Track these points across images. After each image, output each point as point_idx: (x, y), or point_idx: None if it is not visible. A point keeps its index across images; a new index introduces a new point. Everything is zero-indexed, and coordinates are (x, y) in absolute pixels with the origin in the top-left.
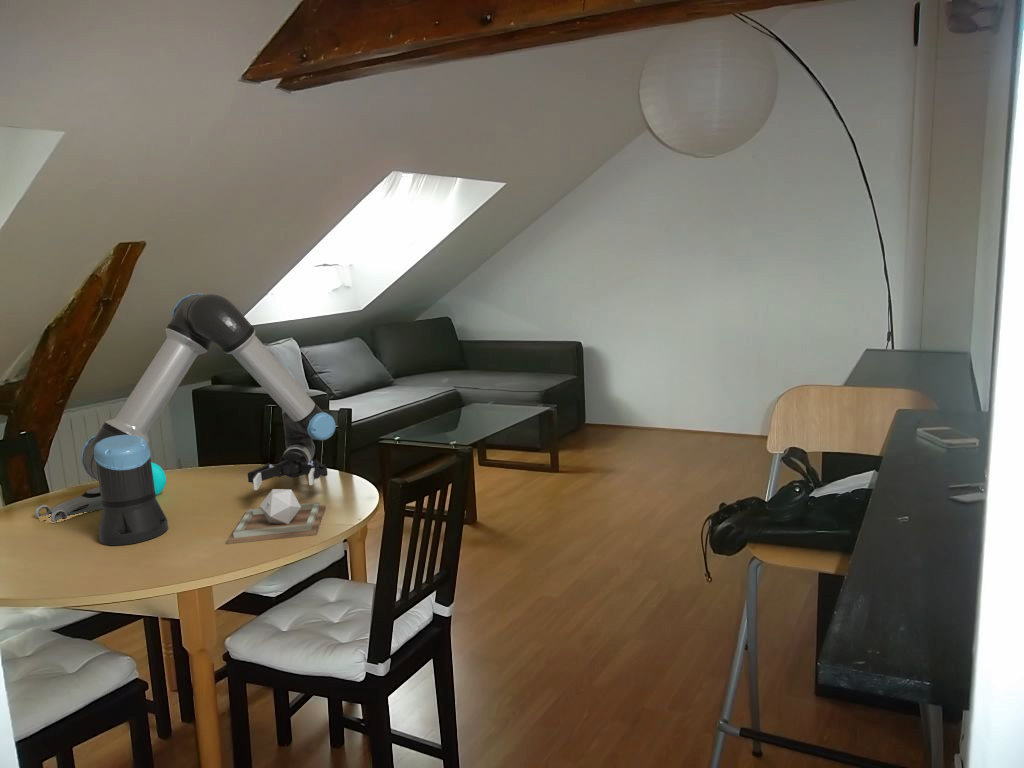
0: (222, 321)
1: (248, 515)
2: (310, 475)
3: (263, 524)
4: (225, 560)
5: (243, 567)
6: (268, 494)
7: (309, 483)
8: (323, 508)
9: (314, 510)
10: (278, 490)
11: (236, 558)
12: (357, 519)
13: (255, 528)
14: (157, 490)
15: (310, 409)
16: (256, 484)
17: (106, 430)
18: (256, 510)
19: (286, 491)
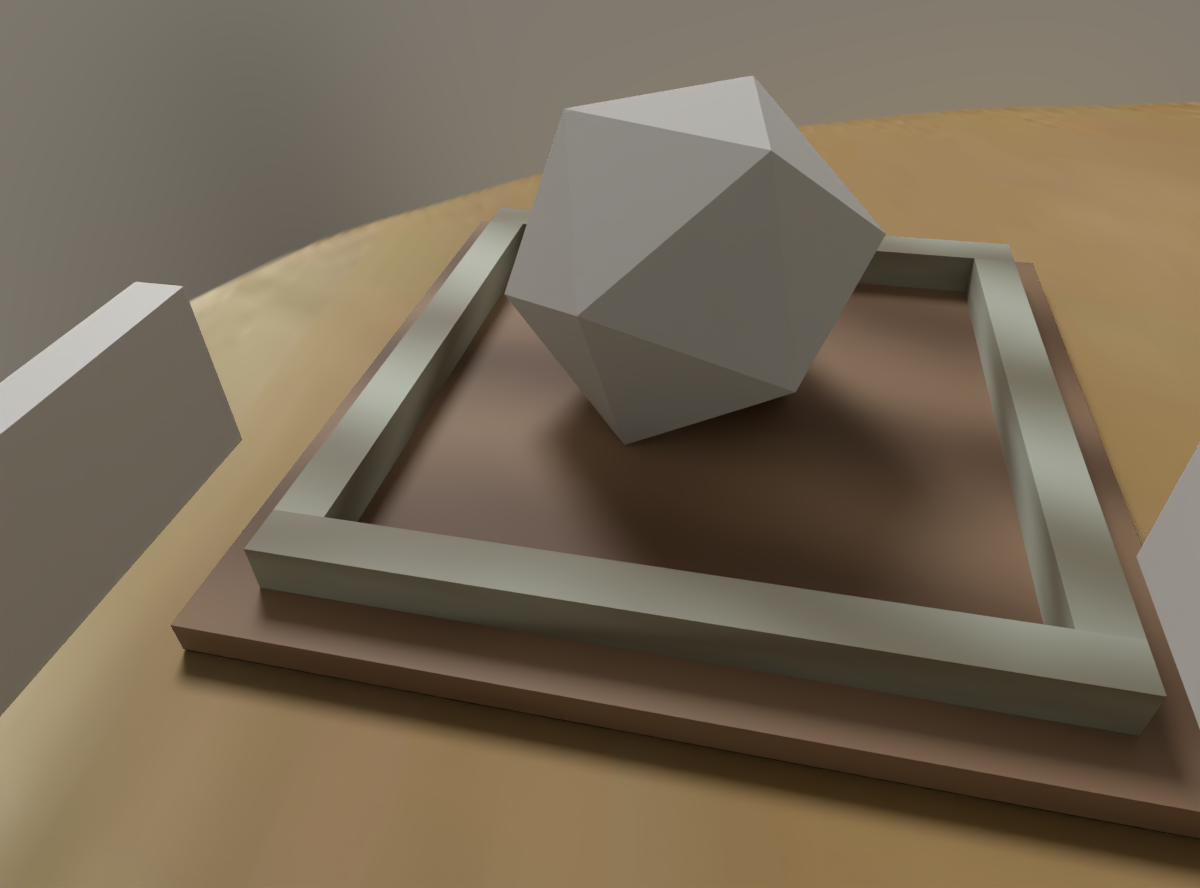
0: None
1: (1045, 487)
2: (154, 296)
3: (837, 393)
4: (939, 170)
5: (830, 126)
6: (811, 175)
7: (228, 417)
8: (253, 527)
9: (388, 379)
10: (698, 118)
11: (889, 171)
12: None
13: (886, 349)
14: None
15: None
16: (1184, 474)
17: None
18: (1017, 628)
19: (616, 102)
